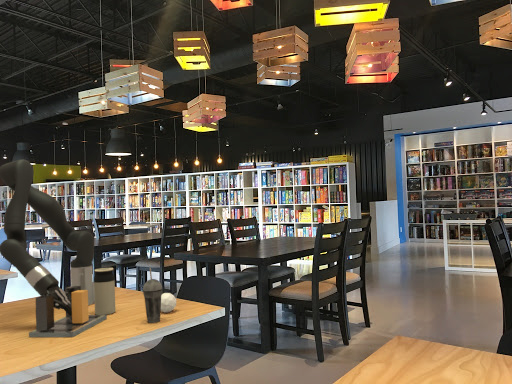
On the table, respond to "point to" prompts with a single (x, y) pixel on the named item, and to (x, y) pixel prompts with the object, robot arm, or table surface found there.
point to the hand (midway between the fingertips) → (73, 313)
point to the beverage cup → (152, 299)
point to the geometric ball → (167, 302)
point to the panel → (63, 325)
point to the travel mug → (104, 291)
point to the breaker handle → (80, 306)
